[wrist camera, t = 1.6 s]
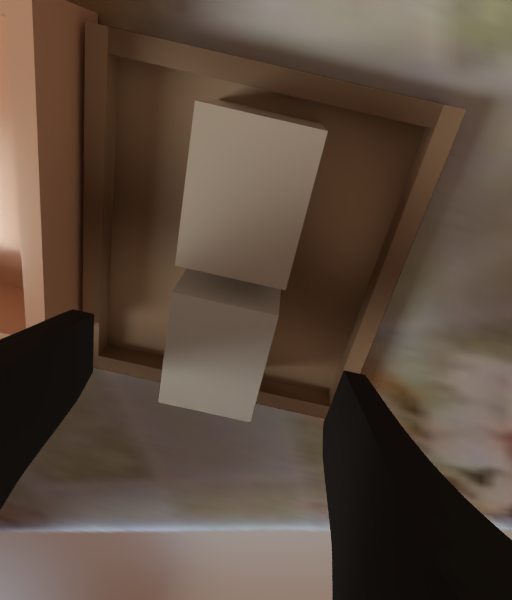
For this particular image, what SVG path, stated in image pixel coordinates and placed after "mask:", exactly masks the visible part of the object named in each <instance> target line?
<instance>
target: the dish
mask: <svg viewBox="0 0 512 600" xmlns="http://www.w3.org/2000/svg"><path fill="white" fill-rule="evenodd" d="M85 21H87V22H92V23H96V24H98V13H96V12H93V11H91V10H88V9H86V8H83V7H81V6H79V5H76V4H74V3H71V2H69V1H66V0H0V339H2V338H5V337H7V336H10V335H12V334H14V333H17V332H19V331H21V330H24V329H26V328H28V327H31V326H33V325H36V324H38V323H40V322H42V321H45V320H47V319H49V318H52V317H54V316H57V315H59V314H61V313H64V312H67V311H69V310H72V309H74V310H79V311H83V208H84V89H85Z"/></svg>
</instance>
